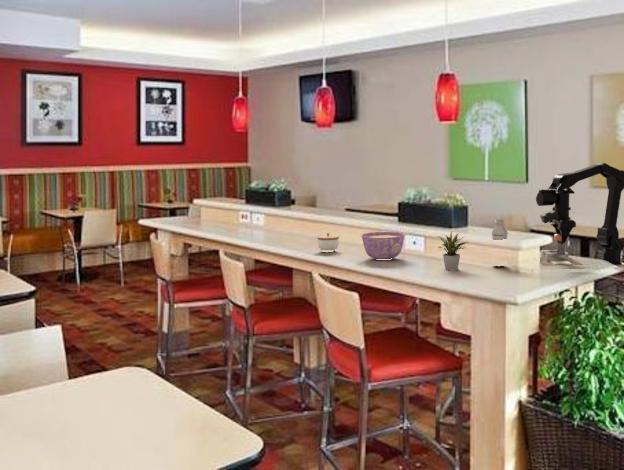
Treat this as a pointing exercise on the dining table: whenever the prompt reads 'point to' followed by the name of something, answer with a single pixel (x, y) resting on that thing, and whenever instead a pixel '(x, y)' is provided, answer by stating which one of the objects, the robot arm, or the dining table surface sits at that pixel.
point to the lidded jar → (328, 242)
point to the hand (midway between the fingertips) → (561, 241)
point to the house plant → (451, 252)
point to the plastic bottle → (499, 231)
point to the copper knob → (560, 244)
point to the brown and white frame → (556, 258)
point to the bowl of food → (383, 244)
